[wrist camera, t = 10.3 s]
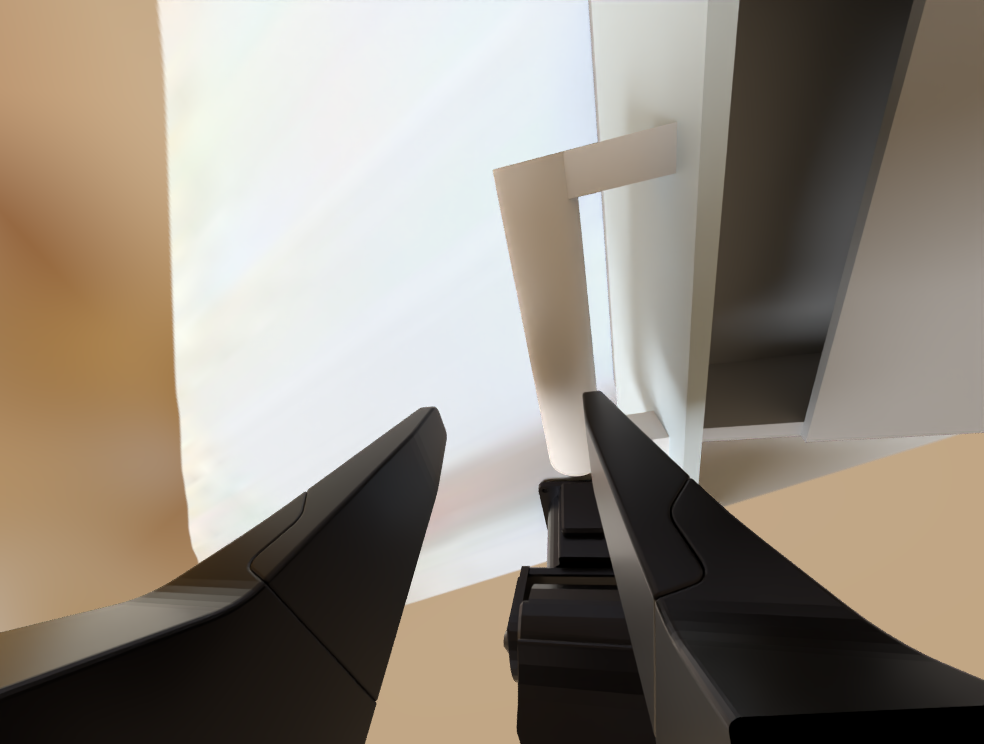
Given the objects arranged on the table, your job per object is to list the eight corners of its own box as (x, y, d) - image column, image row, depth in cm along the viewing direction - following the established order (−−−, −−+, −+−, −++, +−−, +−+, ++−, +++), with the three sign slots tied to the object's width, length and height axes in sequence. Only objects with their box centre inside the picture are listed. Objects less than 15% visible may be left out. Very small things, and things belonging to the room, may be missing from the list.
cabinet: (887, 352, 19) (1017, 430, 14) (613, 380, 22) (631, 451, 17) (1082, -188, 10) (1651, -556, 5) (588, -8, 14) (607, -110, 8)
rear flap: (690, 584, 11) (574, 594, 12) (628, 442, 17) (552, 453, 18) (787, -581, 3) (380, -372, 4) (602, -87, 9) (459, -37, 9)
